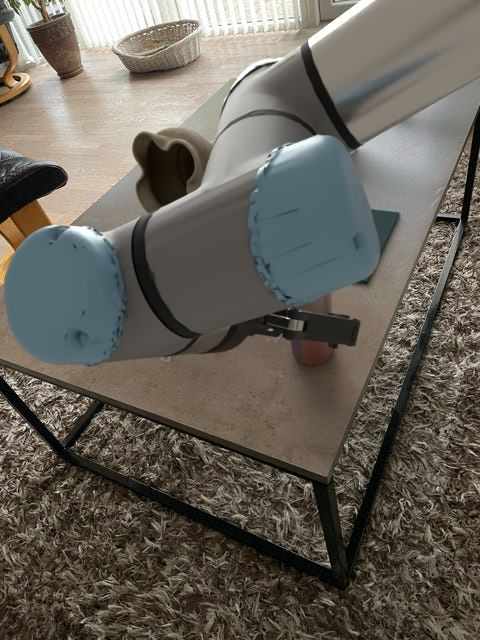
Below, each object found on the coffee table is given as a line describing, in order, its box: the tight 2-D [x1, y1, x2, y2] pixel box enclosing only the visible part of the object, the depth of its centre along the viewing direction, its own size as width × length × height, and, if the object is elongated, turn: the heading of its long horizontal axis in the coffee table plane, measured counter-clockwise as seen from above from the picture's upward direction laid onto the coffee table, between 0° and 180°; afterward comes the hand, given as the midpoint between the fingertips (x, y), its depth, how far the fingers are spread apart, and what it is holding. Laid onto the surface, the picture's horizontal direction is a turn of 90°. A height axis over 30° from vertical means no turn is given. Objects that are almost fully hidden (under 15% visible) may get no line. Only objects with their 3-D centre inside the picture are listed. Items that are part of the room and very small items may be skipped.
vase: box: [131, 126, 214, 214], centre depth 100 cm, size 22×22×28 cm
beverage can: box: [289, 292, 335, 366], centre depth 64 cm, size 6×6×15 cm
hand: (288, 314), depth 58 cm, fingers open, 13 cm apart
